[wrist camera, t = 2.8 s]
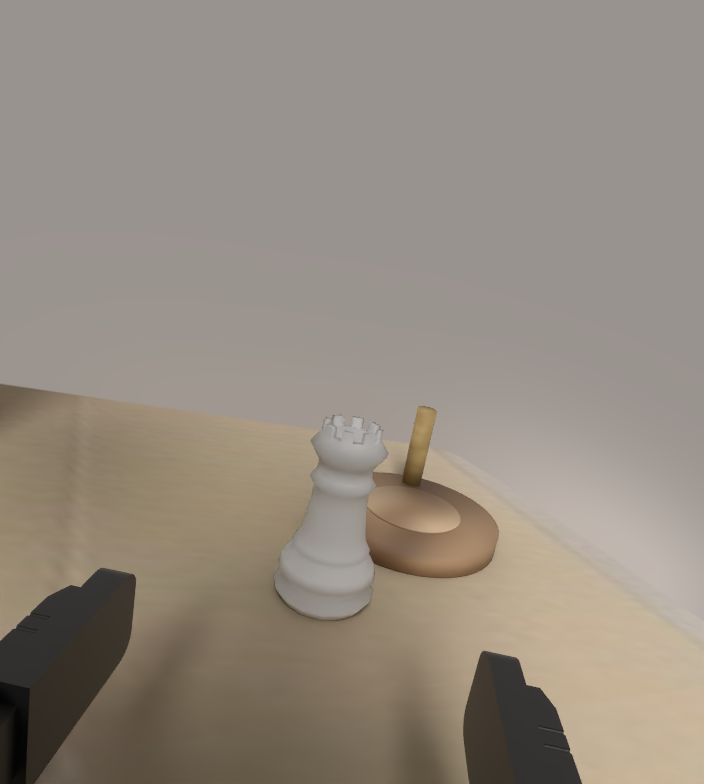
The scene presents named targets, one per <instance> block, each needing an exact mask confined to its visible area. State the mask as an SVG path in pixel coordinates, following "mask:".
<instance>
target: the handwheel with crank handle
mask: <svg viewBox="0 0 704 784" xmlns="http://www.w3.org/2000/svg"><path fill="white" fill-rule="evenodd" d="M436 413H437V411H436V410H435V409H433V408H430V407H425V406H419V407H418V409H417V414H416V419H415V423H414V428H413V432H412V437H411V441H410V446H409V450H408V455H407V460H406V464H405V469H404V473H403V475H401V474H393V473H378V472H373V477H372V479H373V480H374V482H375V484H376V487H375V490H374V491H372V492H371V493H370V494H369V498H368V503H367V514H366V531H365V534H366V542H367V544H368V546H369V549H370V551H369V555H370V557H371V559H372V561H373V563H376V564H378V565H381V566H383V567H386V568H389V569H392V570H395V571H399V572H403V573H407V574H412V575H418V576H425V577H435V578H450V577H460V576H466V575H470V574H473V573H476V572H478V571H480V570H482V569H483V568H485V567H486V566H487V565H488V564H489V563H490V562H491V560H492V558H493V555H494V551H495V547H496V544H497V540H498V536H499V530H498V526H497V524H496V522H495V520H494V519H493V518H492V516H491V515H490V514H489V513H488V512H487V511H486V510H485V509H484V508H483V507H481V506H480V505H479V504H477V503H476V502H475V501H473V500H471V499H470V498H468V497H466V496H465V495H463V494H461V493H459V492H457V491H455V490H452V489H450V488H448V487H445V486H443V485H440V484H437V483H434V482H431V481H428V480H424V479H421V478H422V474H423V470H424V465H425V461H426V456H427V452H428V448H429V443H430V439H431V435H432V430H433V426H434V421H435V417H436Z"/></svg>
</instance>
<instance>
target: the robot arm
mask: <svg viewBox="0 0 704 784" xmlns="http://www.w3.org/2000/svg"><path fill="white" fill-rule="evenodd" d="M135 587H136V578H135V575H134V574H129V573H125V572H120V571H115V570H111V569H106V568H100V569H99V570H97V571H96V572H95V573H94V574H93V575H92V576H91V577H90V578H89V579H88V580H87V581H86V582H85V583H84V584H83V585H82V586H81V587H77V586H72V585H70V586H68V587H66V588H64V589H62V590H60V591H58V592H56V593H54V594H52V595H50V596H48V597H47V598H46V599H45V600H43V601H42V602H41V603H40V604H39V605H38V606H37V607H36V608H35V609H34V610H33V611H32V612H31V614H30V616H26V617H25V618H24V619H23V620H22V621H21V622H20V623H19V624H18V625H17V627H16V629H13V630H12V631H11V632H9V633H8V634H7V635H6V636H5V637H4V638H3V639H2V640H1V641H0V784H34V783H35V781H36V780H37V778H38V777H39V776H40V774H41V773H42V771H43V770H44V768H45V767H46V766H47V764H48V763H49V761H50V760H51V759H52V757H53V756H54V754H55V753H56V752H57V750H58V749H59V747H60V746H61V744H62V743H63V742H64V740H65V739H66V737H67V736H68V735H69V733H70V732H71V730H72V729H73V727H74V726H75V725H76V723H77V722H78V720H79V719H80V718H81V716H82V715H83V713H84V712H85V711H86V709H87V708H88V706H89V705H90V703H91V702H92V701H93V699H94V698H95V696H96V695H97V694H98V692H99V691H100V689H101V688H102V687H103V685H104V684H105V682H106V681H107V679H108V678H109V677H110V675H111V674H112V672H113V671H114V670H115V668H116V667H117V665H118V664H119V662H120V661H121V659H122V657H123V655H124V653H125V651H126V649H127V646H128V643H129V640H130V635H131V629H132V618H133V608H134V597H135ZM563 732H564V730H563V727H562V725H561V722H560V719H559V716H558V713H557V710H556V708H555V707H554V706H553V704H552V703H551V702H550V700H549V699H548V698H547V697H546V695H545V694H544V693H543V691H542V690H541V689H540V688H537V687H533V686H528V685H526V682H525V679H524V676H523V672H522V669H521V665H520V662H519V660H518V659H517V658H515V657H511V656H506V655H501V654H497V653H492V652H487V651H483V652H482V653H481V655H480V658H479V661H478V665H477V668H476V672H475V676H474V679H473V683H472V686H471V690H470V694H469V697H468V701H467V705H466V709H465V715H464V725H463V737H464V746H465V754H466V761H467V769H468V777H469V784H582V782H581V779H580V776H579V774H578V771H577V768H576V765H575V762H574V759H573V756H572V754H570V748H569V745H568V742H567V739H566V736H565V735H564V734H563Z"/></svg>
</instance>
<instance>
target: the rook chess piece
mask: <svg viewBox="0 0 704 784" xmlns="http://www.w3.org/2000/svg"><path fill="white" fill-rule="evenodd" d="M344 419H345V417H344V416H343V415H333V417H332V418H328V417H326V418H325V419H324V421H323V427H322V430H321V431H320V432H318V433H317V434H316V435H315V436H314V437H313V438H312V440H311V442H312V445H313V447H314V449H315V451H316V453H317V455H318V457H319V462H318V466H317V468H315V469H314V470H313V471H312V473H311V474H310V475H311V478H312V480H313V482H314V485H313V490H312V496H311V500H310V503H309V506H308V509H307V512H306V515H305V518H304V521H303V524H302V526H301V528H300V529H298V530H296V532H295V534H294V535H293V537H292V540H290V541H289V542H287V544H286V546H285V547H284V549H283V551H282V552H281V554H280V556H279V558H278V559H279V568H278V570H277V571H276V573H275V575H274V580H275V588H276V589H277V591H278V592H279V594H280V596H281V597H282V598H283V600H284V601H285V602H286V603H287V605H288V606H289V607H290V608H292V609H293V610H295V611H297V612H298V613H300V614H302V615H304V616H307V617H311V618H314V619H318V620H341V619H344V618H347V617H351V616H353V615H354V614H356V613H357V612H358V611H360V610H361V609H362V608H363V607H364V606H366V605H367V604H368V603H369V602H370V600H371V596H372V592H373V590H372V587H371V584H372V583H373V579H374V575H375V569H374V563H373V561H372V559H371V557H370V555H369V551H370V549H369V546H368V544H367V542H366V534H365V531H366V514H367V503H368V498H369V494H370V493H371V492H372V491H374V490H375V487H376V484H375V482H374V480H373V479H372V477H373V470H374V469H375V468H376V467H377V466H378V465H379V464H380V463H381V462H383V461H384V460H385V459H386V458H387V455H388V452H387V450H386V448H385V446H384V444H383V442H382V436H383V431H384V430H381V429H380V427H381V426H380V425H378V424H376V423H374V422H371V423H369V427H368V430H365V429H362V427H363V422H364V418H359V417H355V416H354V417H353V421H352V425H351V426H346V425H343V424H344Z"/></svg>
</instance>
